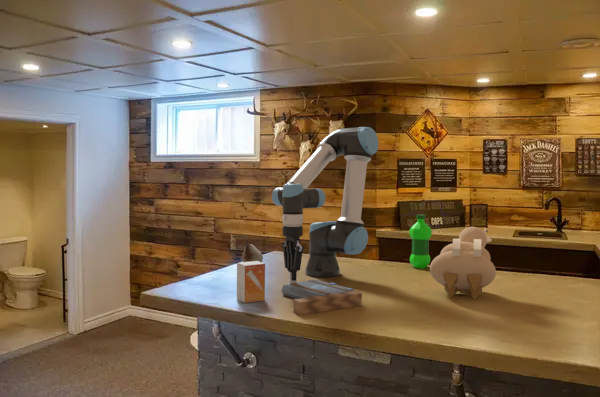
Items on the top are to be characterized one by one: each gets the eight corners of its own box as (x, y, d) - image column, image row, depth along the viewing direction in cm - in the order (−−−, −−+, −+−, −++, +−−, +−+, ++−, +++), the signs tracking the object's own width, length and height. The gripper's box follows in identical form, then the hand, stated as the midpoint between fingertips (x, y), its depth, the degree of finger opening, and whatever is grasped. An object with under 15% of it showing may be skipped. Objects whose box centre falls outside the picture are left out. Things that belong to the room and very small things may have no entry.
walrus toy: (497, 205, 172) (431, 204, 180) (498, 275, 156) (425, 270, 163) (493, 252, 194) (434, 249, 202) (494, 317, 178) (430, 311, 185)
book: (281, 296, 177) (281, 283, 177) (315, 289, 188) (315, 277, 188) (321, 309, 161) (321, 294, 161) (355, 300, 172) (355, 286, 172)
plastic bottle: (433, 269, 227) (434, 215, 226) (410, 269, 227) (411, 215, 226) (428, 265, 237) (429, 214, 236) (406, 265, 237) (407, 213, 236)
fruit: (245, 265, 233) (245, 240, 232) (264, 266, 232) (264, 241, 231) (240, 270, 223) (239, 243, 222) (260, 270, 222) (260, 244, 221)
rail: (354, 302, 168) (354, 290, 168) (361, 305, 164) (361, 293, 164) (293, 311, 156) (293, 299, 156) (299, 314, 152) (299, 302, 152)
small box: (244, 303, 165) (244, 265, 165) (236, 299, 171) (236, 262, 170) (265, 300, 170) (265, 263, 169) (256, 296, 175) (256, 260, 175)
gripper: (275, 224, 184) (275, 286, 185) (292, 227, 173) (291, 293, 174) (293, 223, 188) (292, 284, 189) (310, 226, 177) (309, 291, 178)
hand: (292, 288), depth 182 cm, fingers closed
